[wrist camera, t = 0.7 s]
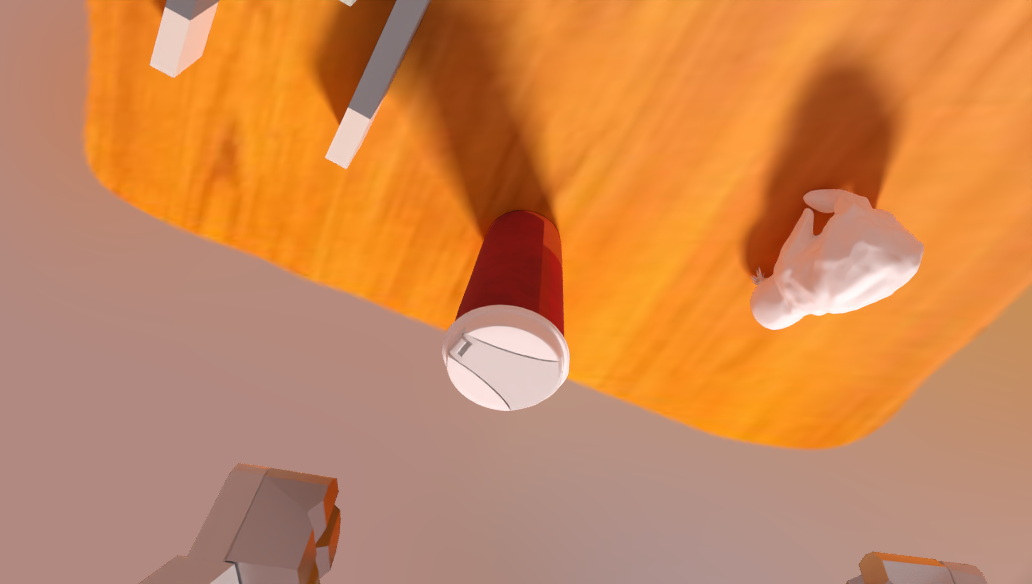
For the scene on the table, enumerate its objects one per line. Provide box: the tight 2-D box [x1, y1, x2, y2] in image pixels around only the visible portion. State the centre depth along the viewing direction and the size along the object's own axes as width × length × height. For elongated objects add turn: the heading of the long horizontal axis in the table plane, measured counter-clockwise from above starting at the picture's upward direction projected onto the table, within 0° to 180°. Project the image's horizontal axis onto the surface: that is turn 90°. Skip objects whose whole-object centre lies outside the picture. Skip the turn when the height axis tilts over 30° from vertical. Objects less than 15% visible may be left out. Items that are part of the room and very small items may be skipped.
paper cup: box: [442, 210, 570, 411], centre depth 49 cm, size 8×8×14 cm
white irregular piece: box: [750, 189, 924, 330], centre depth 50 cm, size 6×8×12 cm
